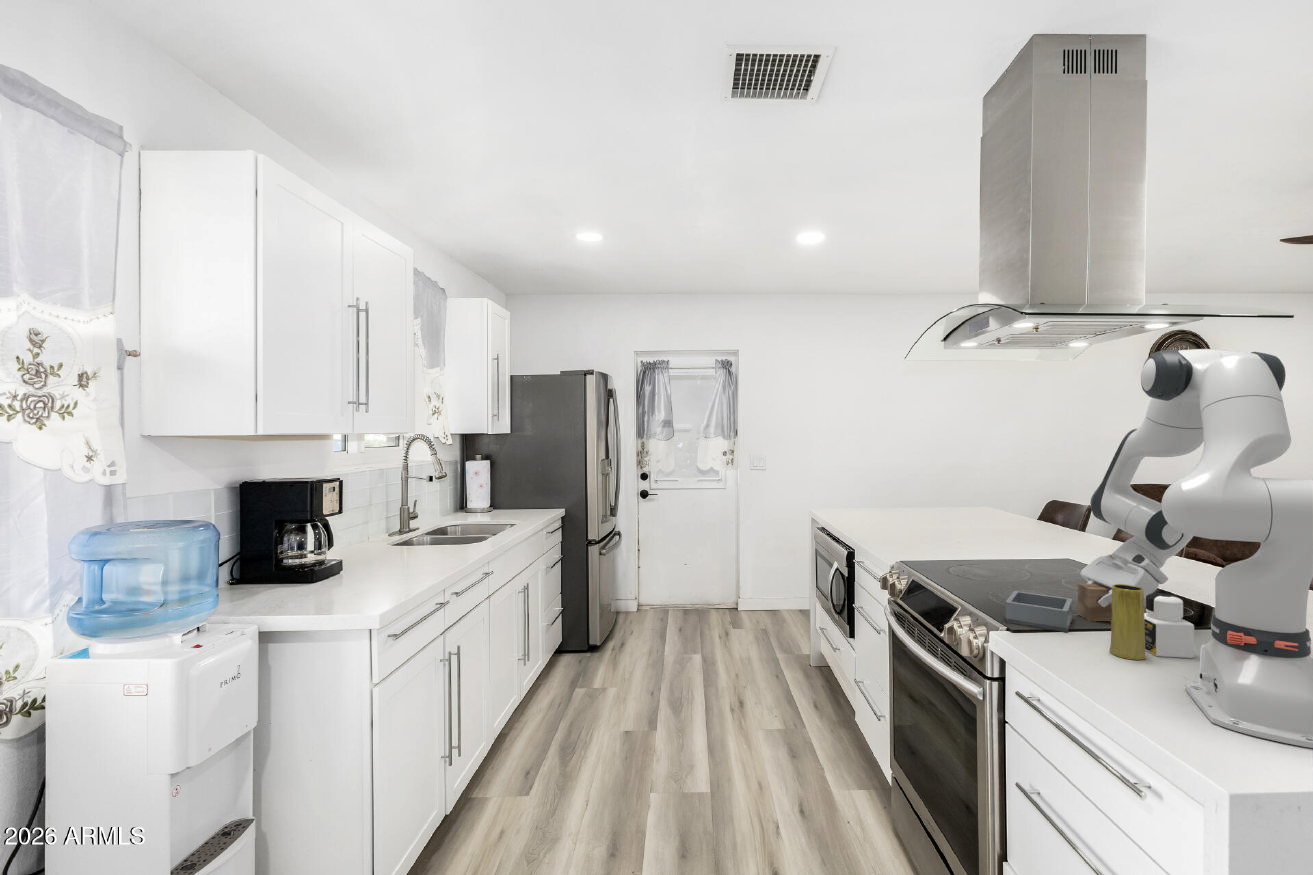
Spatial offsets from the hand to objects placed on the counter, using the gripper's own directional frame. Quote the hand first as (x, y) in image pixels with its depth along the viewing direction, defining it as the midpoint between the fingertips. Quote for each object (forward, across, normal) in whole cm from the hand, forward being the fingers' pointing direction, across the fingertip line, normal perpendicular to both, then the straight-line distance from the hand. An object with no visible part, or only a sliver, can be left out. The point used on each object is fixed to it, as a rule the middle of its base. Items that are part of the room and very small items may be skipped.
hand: (1091, 600), depth 150 cm
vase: (+8, +25, -2) cm, 26 cm away
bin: (+13, +3, -6) cm, 15 cm away
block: (+3, 0, +4) cm, 4 cm away
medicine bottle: (+2, +22, +5) cm, 23 cm away
